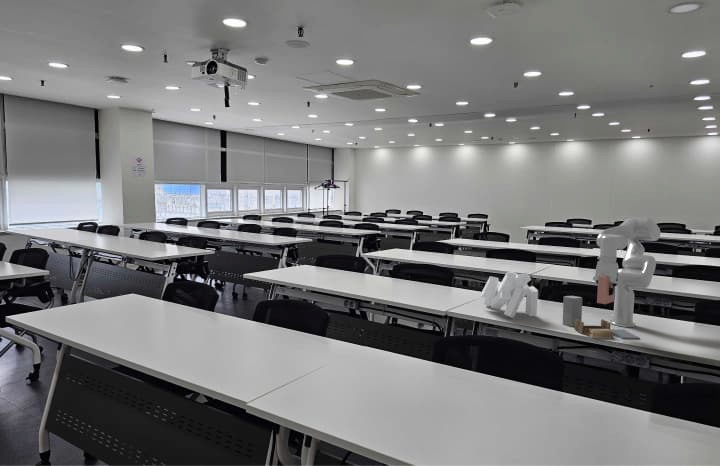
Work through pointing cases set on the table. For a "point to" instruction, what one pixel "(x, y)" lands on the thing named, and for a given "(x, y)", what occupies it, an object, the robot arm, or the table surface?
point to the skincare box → (572, 310)
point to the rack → (585, 329)
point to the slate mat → (623, 334)
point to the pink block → (604, 291)
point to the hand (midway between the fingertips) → (606, 293)
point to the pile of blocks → (511, 293)
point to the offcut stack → (600, 333)
